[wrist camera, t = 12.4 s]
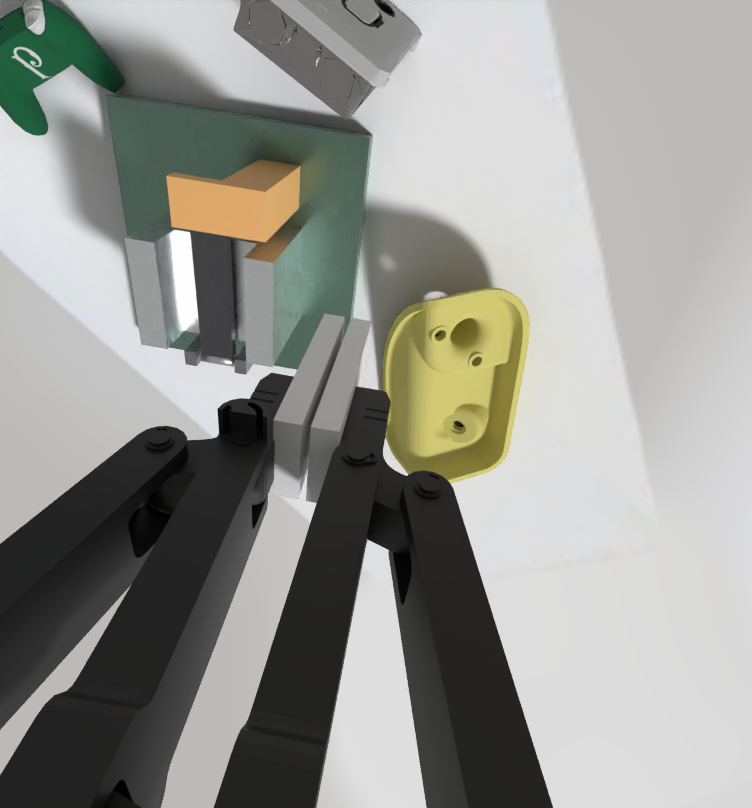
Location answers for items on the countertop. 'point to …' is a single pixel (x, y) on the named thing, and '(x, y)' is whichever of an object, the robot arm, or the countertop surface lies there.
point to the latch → (236, 200)
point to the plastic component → (455, 381)
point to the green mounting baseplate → (251, 260)
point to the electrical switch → (331, 44)
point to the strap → (214, 296)
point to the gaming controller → (45, 59)
